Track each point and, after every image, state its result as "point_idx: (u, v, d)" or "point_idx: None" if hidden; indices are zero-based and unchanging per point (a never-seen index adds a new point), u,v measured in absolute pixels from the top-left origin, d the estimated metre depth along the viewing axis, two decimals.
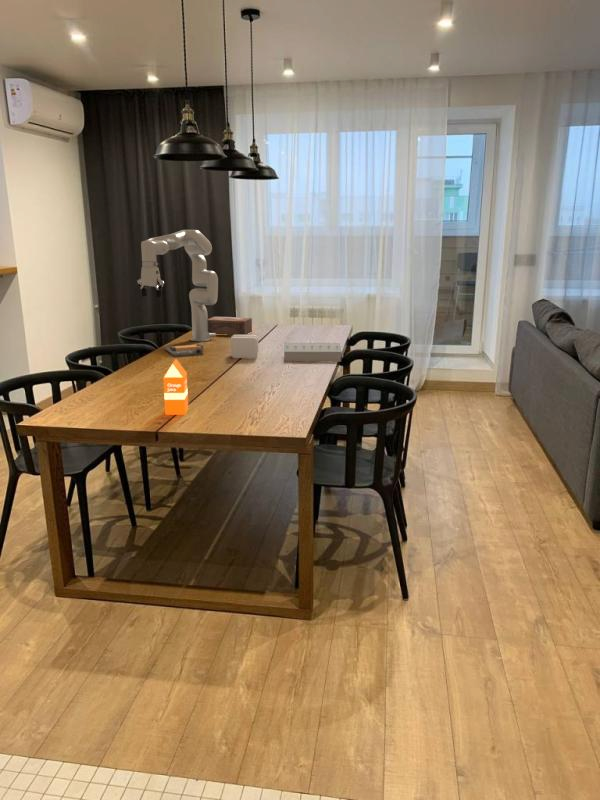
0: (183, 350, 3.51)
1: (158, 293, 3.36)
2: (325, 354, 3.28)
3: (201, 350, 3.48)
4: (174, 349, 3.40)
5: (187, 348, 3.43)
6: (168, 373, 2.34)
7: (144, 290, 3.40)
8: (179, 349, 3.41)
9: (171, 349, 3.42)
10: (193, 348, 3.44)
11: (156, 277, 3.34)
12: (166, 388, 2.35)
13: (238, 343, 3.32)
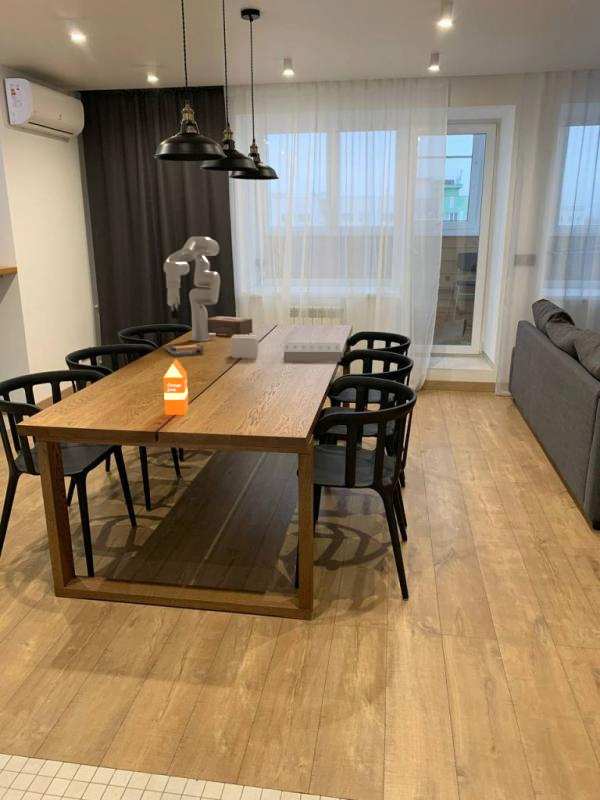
0: (183, 350, 3.51)
1: None
2: (325, 354, 3.28)
3: (201, 350, 3.48)
4: (174, 349, 3.40)
5: (187, 348, 3.43)
6: (168, 373, 2.34)
7: None
8: (179, 349, 3.41)
9: (171, 349, 3.42)
10: (193, 348, 3.44)
11: None
12: (166, 388, 2.35)
13: (238, 343, 3.32)
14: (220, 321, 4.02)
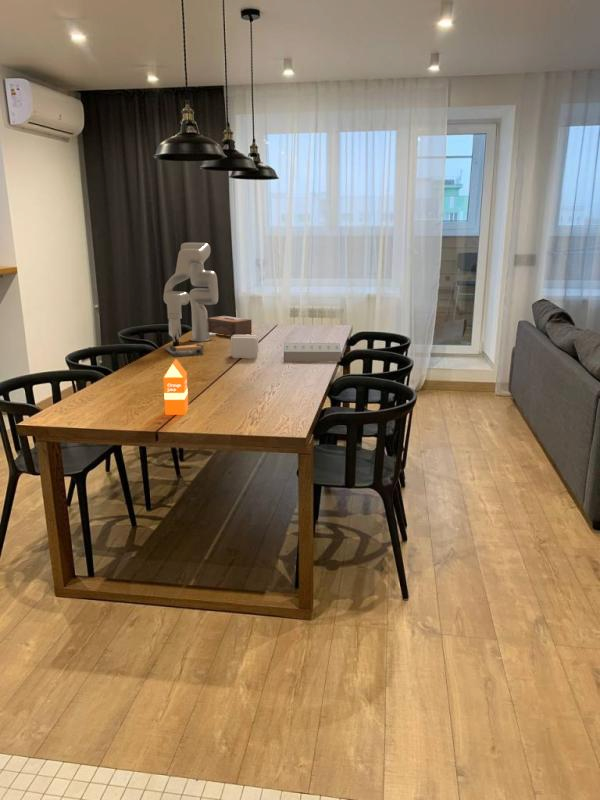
0: (183, 350, 3.51)
1: None
2: (325, 354, 3.28)
3: (201, 350, 3.48)
4: (174, 349, 3.40)
5: (187, 348, 3.43)
6: (168, 373, 2.34)
7: None
8: (179, 349, 3.41)
9: (171, 349, 3.42)
10: (193, 348, 3.44)
11: None
12: (166, 388, 2.35)
13: (238, 343, 3.32)
14: (219, 321, 4.03)
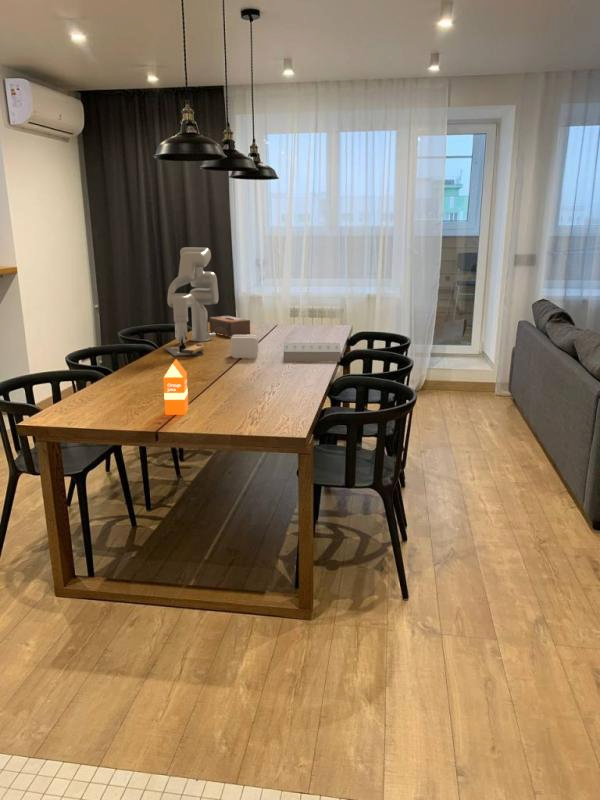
0: None
1: None
2: (325, 354, 3.28)
3: (201, 350, 3.48)
4: (192, 351, 3.34)
5: (198, 349, 3.40)
6: (168, 373, 2.34)
7: None
8: (194, 351, 3.36)
9: (186, 352, 3.34)
10: (201, 348, 3.44)
11: None
12: (166, 388, 2.35)
13: (238, 343, 3.32)
14: (218, 320, 4.05)
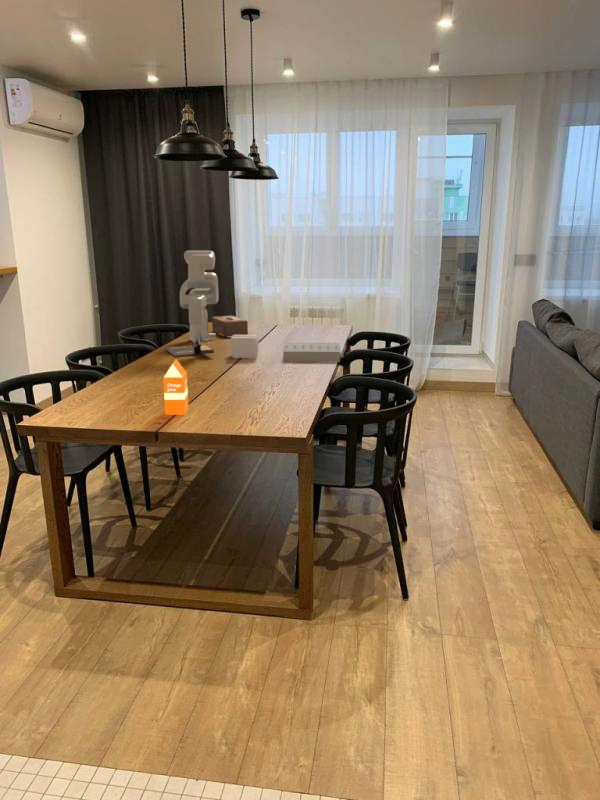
0: (183, 350, 3.51)
1: None
2: (325, 354, 3.28)
3: None
4: None
5: None
6: (168, 373, 2.34)
7: None
8: None
9: (207, 352, 3.35)
10: None
11: None
12: (166, 388, 2.35)
13: (238, 343, 3.32)
14: (217, 320, 4.06)
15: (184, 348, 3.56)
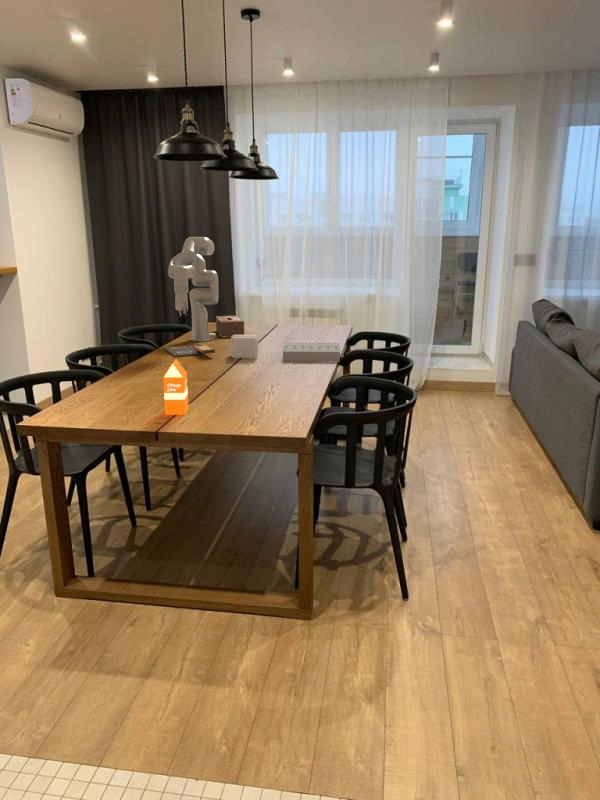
0: (183, 350, 3.51)
1: None
2: (324, 354, 3.28)
3: None
4: None
5: None
6: (168, 373, 2.34)
7: None
8: None
9: (208, 352, 3.35)
10: None
11: None
12: (166, 388, 2.35)
13: (238, 343, 3.32)
14: (218, 320, 4.08)
15: (184, 348, 3.56)
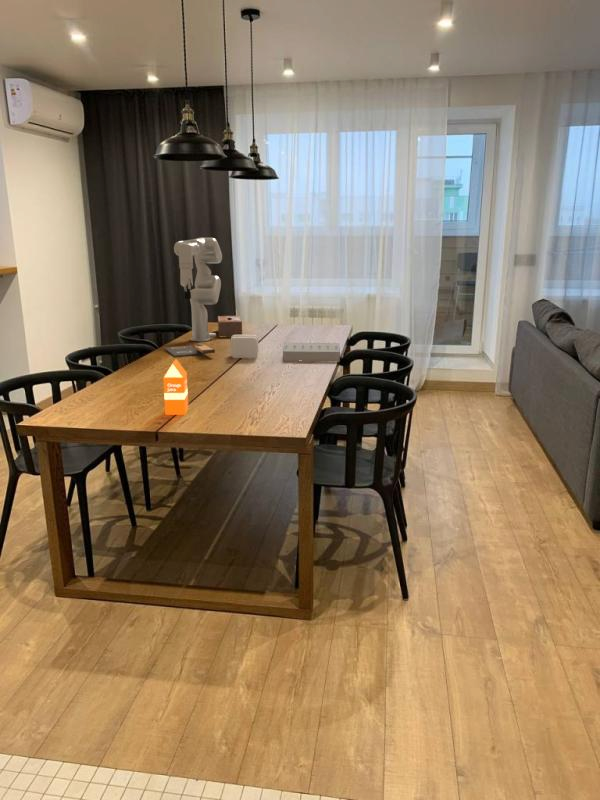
0: (183, 350, 3.51)
1: None
2: (324, 354, 3.28)
3: None
4: None
5: None
6: (168, 373, 2.34)
7: None
8: None
9: (208, 352, 3.35)
10: None
11: None
12: (166, 388, 2.35)
13: (238, 343, 3.32)
14: (218, 319, 4.08)
15: (184, 348, 3.56)
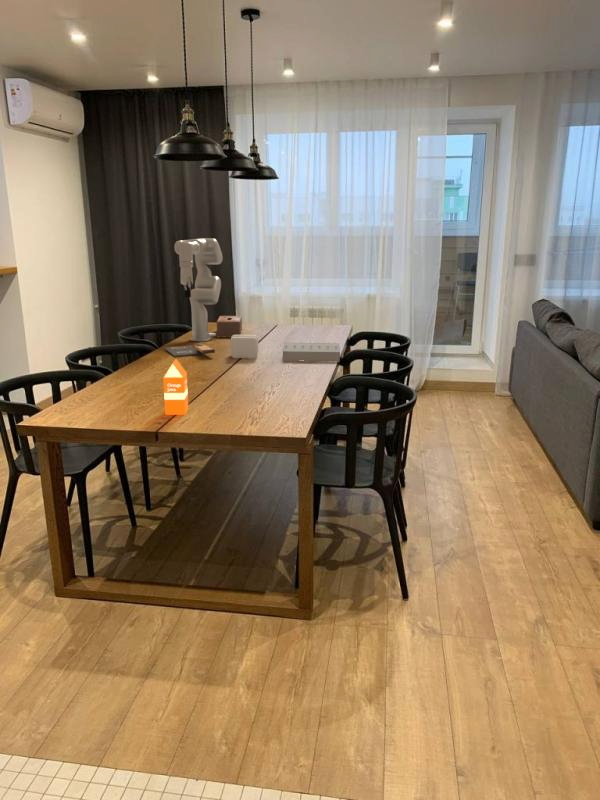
0: (183, 350, 3.51)
1: None
2: (324, 354, 3.28)
3: None
4: None
5: None
6: (168, 373, 2.34)
7: None
8: None
9: (208, 352, 3.35)
10: None
11: None
12: (166, 388, 2.35)
13: (238, 343, 3.32)
14: (218, 319, 4.09)
15: (184, 348, 3.56)
